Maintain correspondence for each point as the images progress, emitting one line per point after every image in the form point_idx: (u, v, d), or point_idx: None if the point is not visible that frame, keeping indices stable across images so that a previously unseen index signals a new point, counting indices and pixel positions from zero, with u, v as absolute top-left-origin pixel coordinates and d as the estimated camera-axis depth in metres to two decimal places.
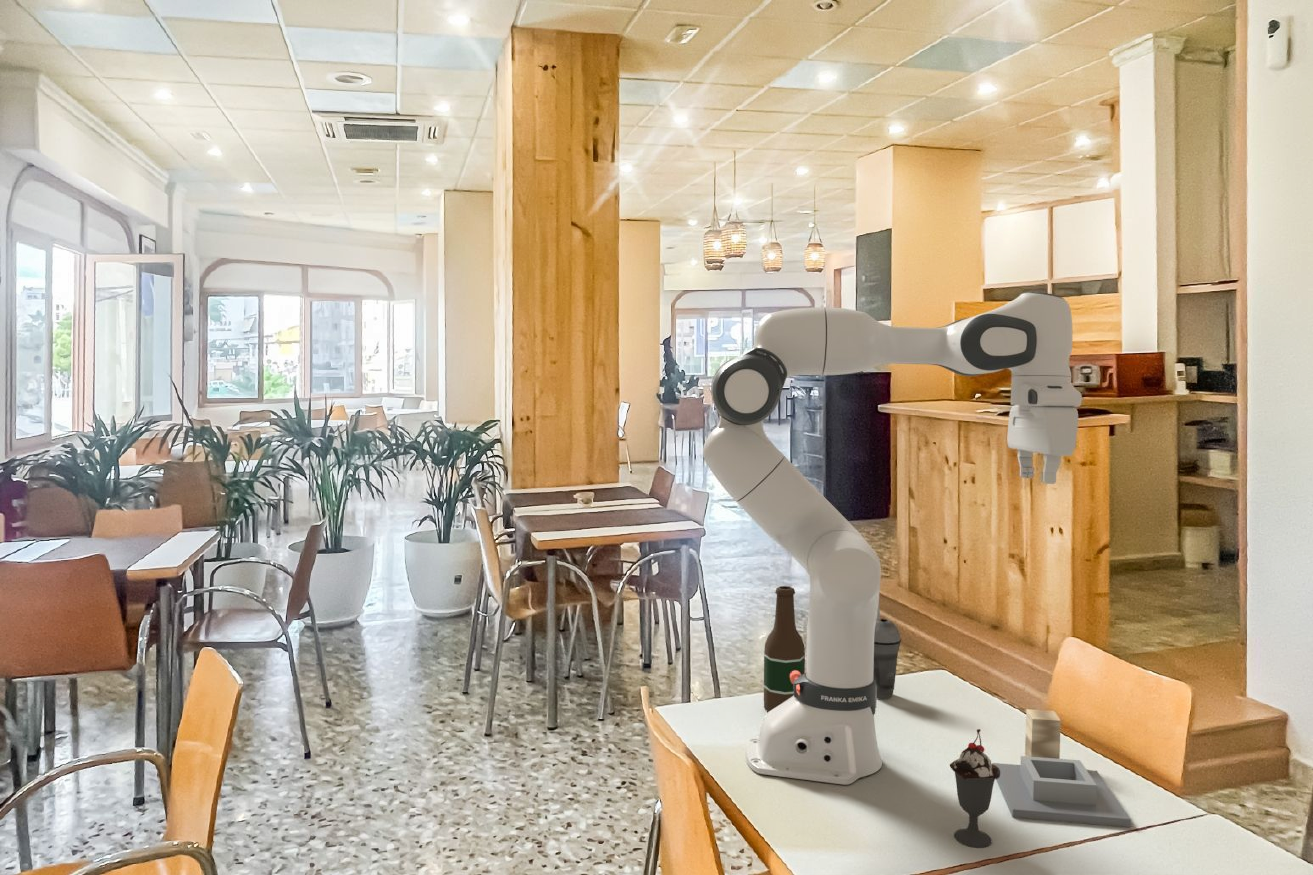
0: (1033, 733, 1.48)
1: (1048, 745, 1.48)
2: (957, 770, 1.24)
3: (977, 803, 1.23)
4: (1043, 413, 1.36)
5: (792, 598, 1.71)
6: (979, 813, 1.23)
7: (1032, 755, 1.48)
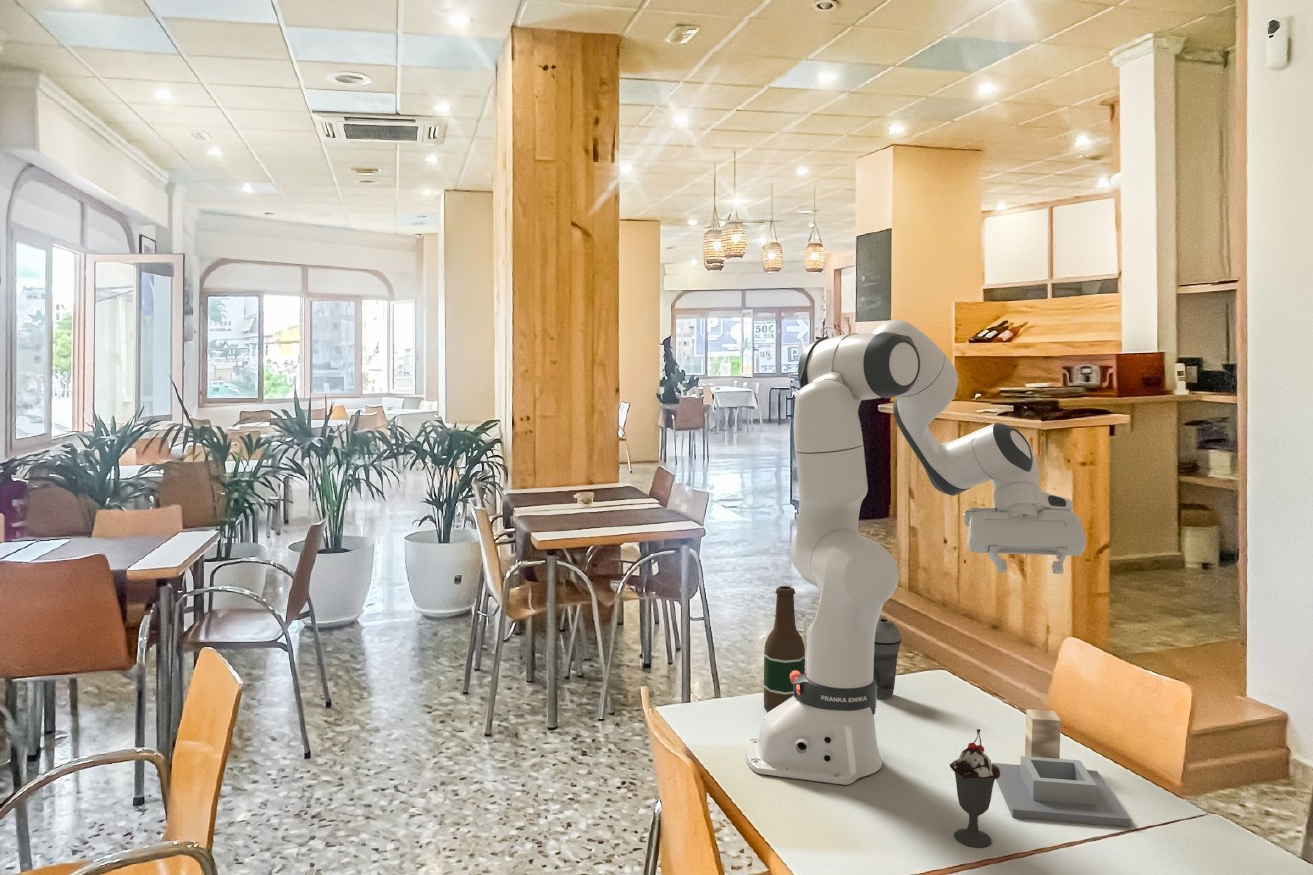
0: (1033, 733, 1.48)
1: (1048, 745, 1.48)
2: (957, 770, 1.24)
3: (977, 803, 1.23)
4: (1073, 514, 1.64)
5: (792, 598, 1.71)
6: (979, 813, 1.23)
7: (1032, 755, 1.48)
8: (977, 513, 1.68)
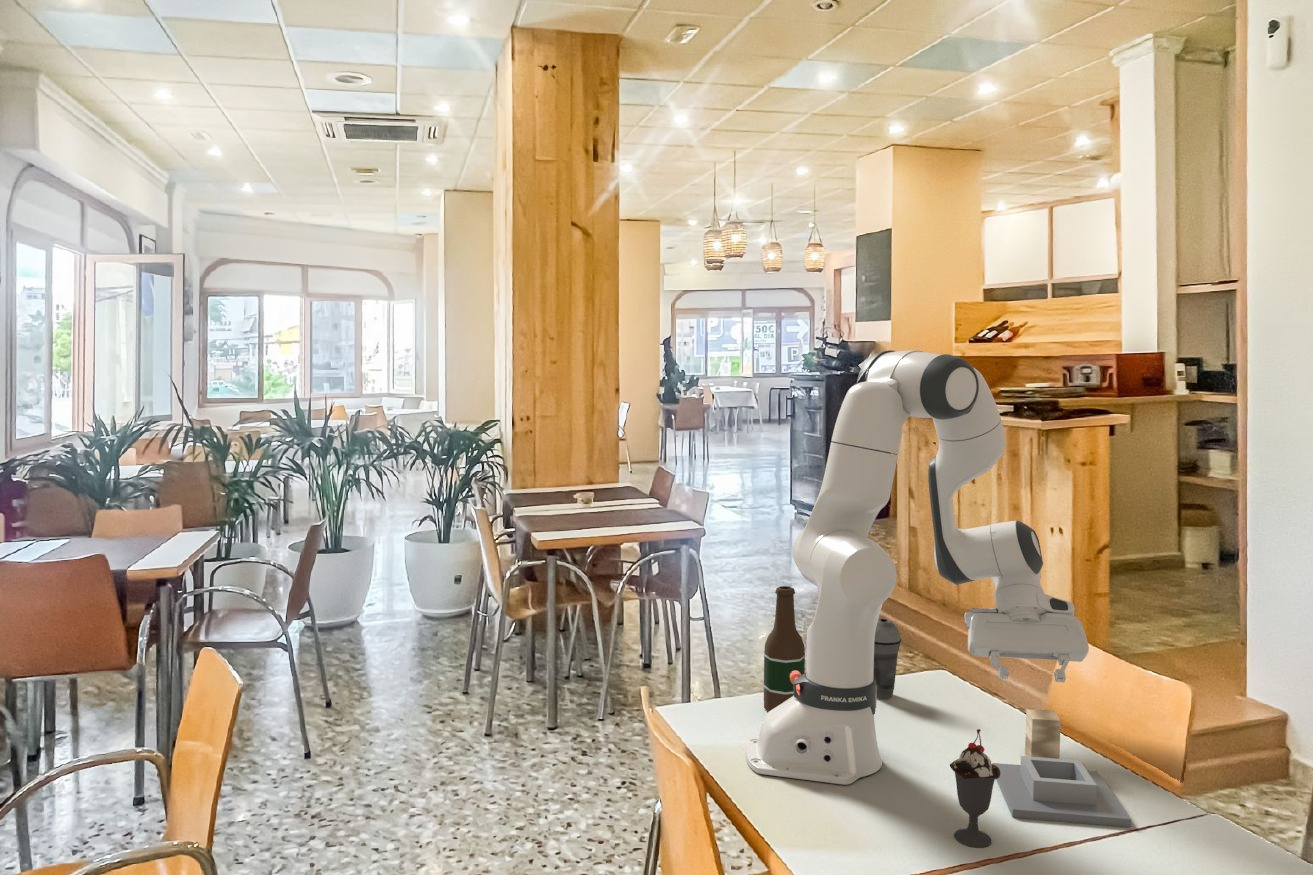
0: (1033, 733, 1.48)
1: (1048, 745, 1.48)
2: (957, 770, 1.24)
3: (977, 803, 1.23)
4: (1075, 619, 1.61)
5: (792, 598, 1.71)
6: (979, 813, 1.23)
7: (1032, 755, 1.48)
8: (978, 615, 1.65)
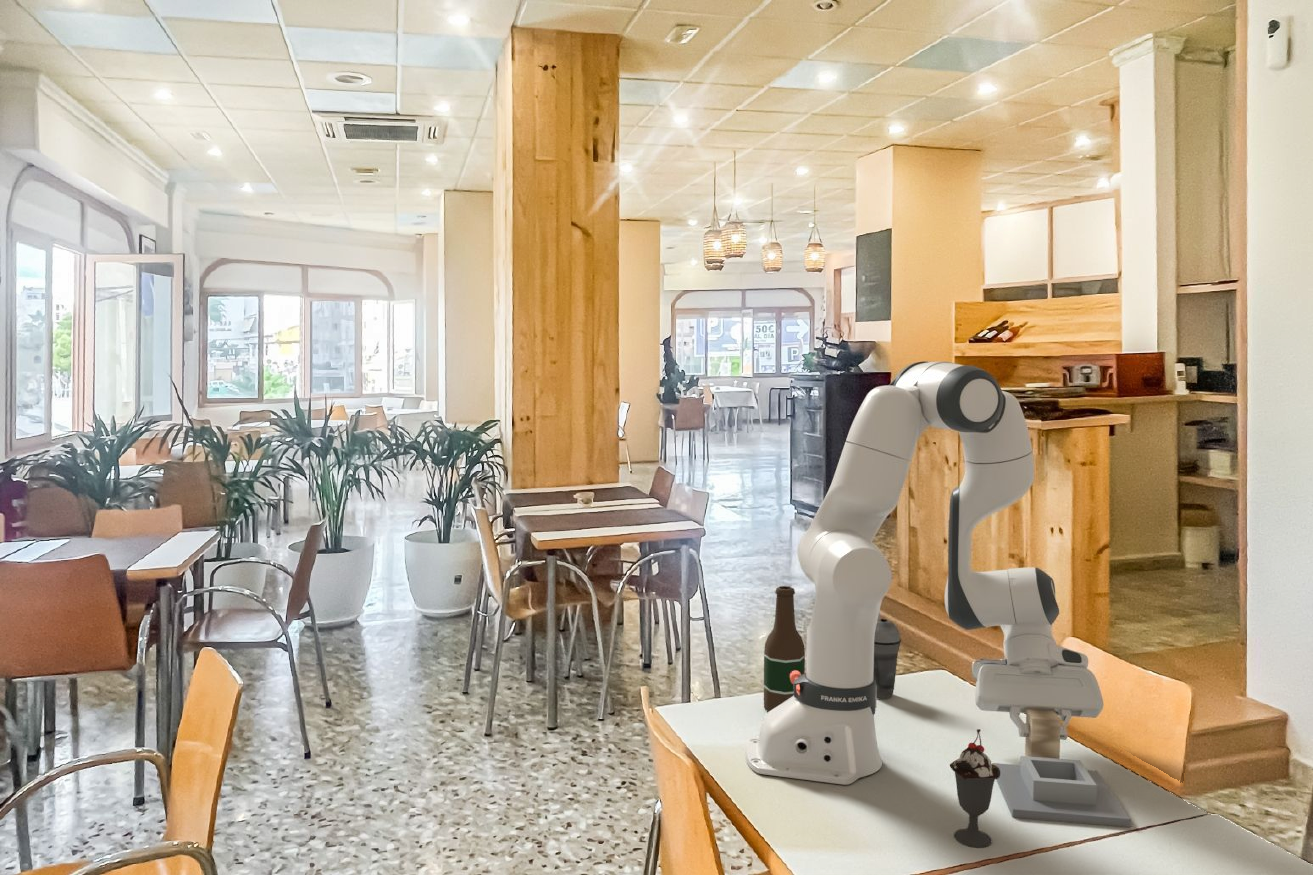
0: (1033, 733, 1.48)
1: (1048, 745, 1.48)
2: (957, 770, 1.24)
3: (977, 803, 1.23)
4: (1089, 672, 1.53)
5: (792, 598, 1.71)
6: (979, 813, 1.23)
7: (1032, 755, 1.48)
8: (986, 667, 1.57)
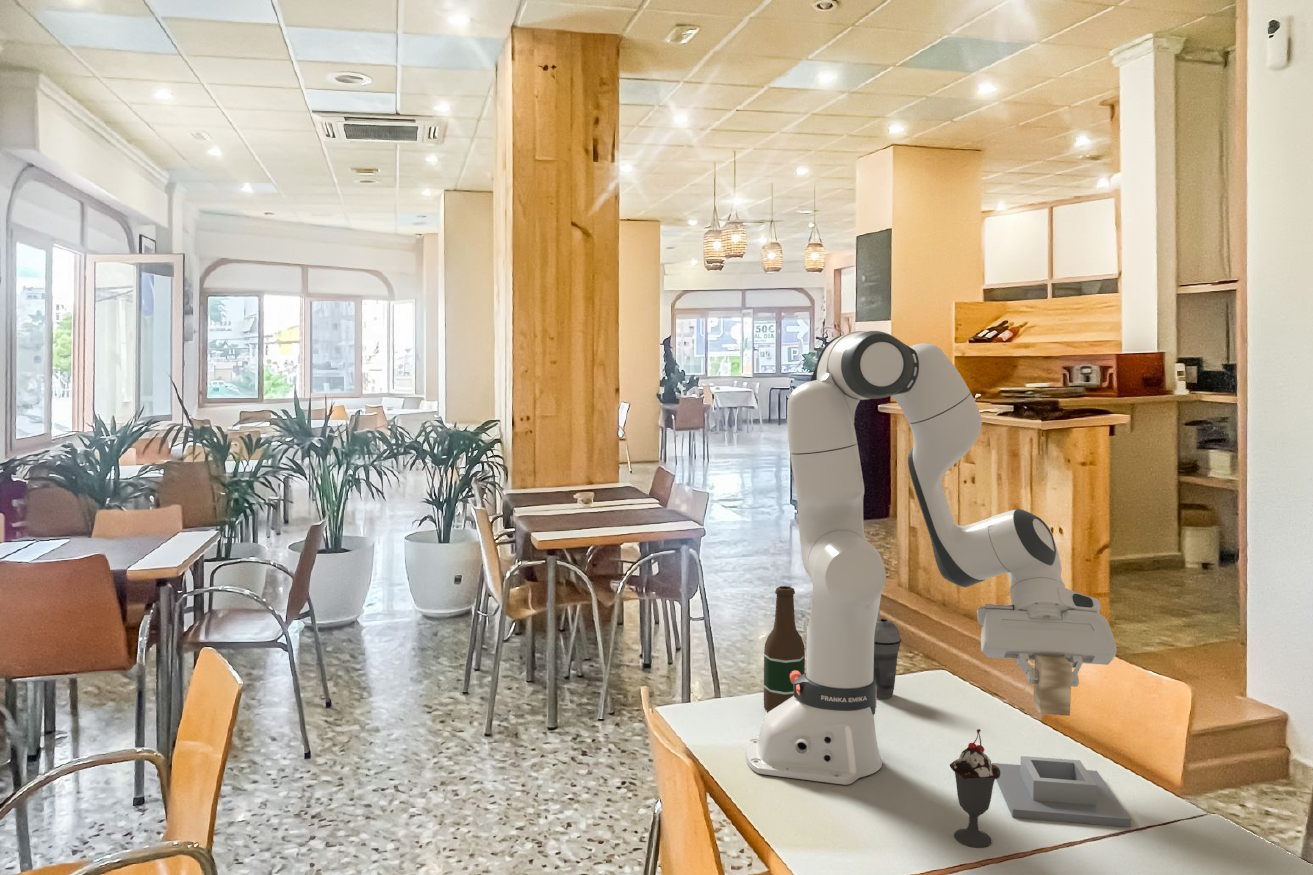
0: (1043, 679, 1.40)
1: (1059, 691, 1.40)
2: (957, 770, 1.24)
3: (977, 803, 1.23)
4: (1101, 617, 1.45)
5: (792, 598, 1.71)
6: (979, 813, 1.23)
7: (1041, 702, 1.40)
8: (992, 612, 1.49)
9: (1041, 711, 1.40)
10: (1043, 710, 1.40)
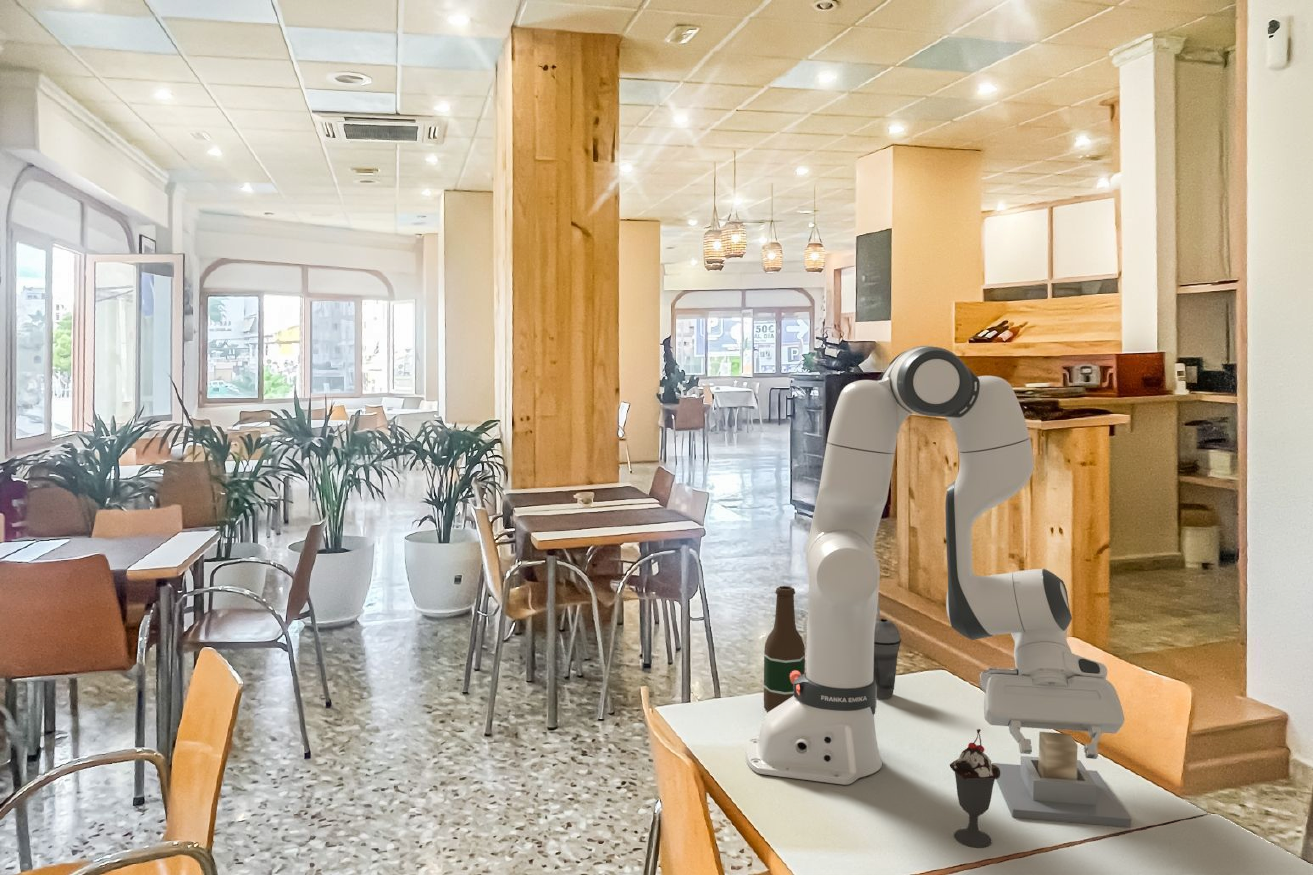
0: (1047, 759, 1.35)
1: (1064, 772, 1.35)
2: (957, 770, 1.24)
3: (977, 803, 1.23)
4: (1108, 684, 1.40)
5: (792, 598, 1.71)
6: (979, 813, 1.23)
7: None
8: (995, 677, 1.44)
9: None
10: None
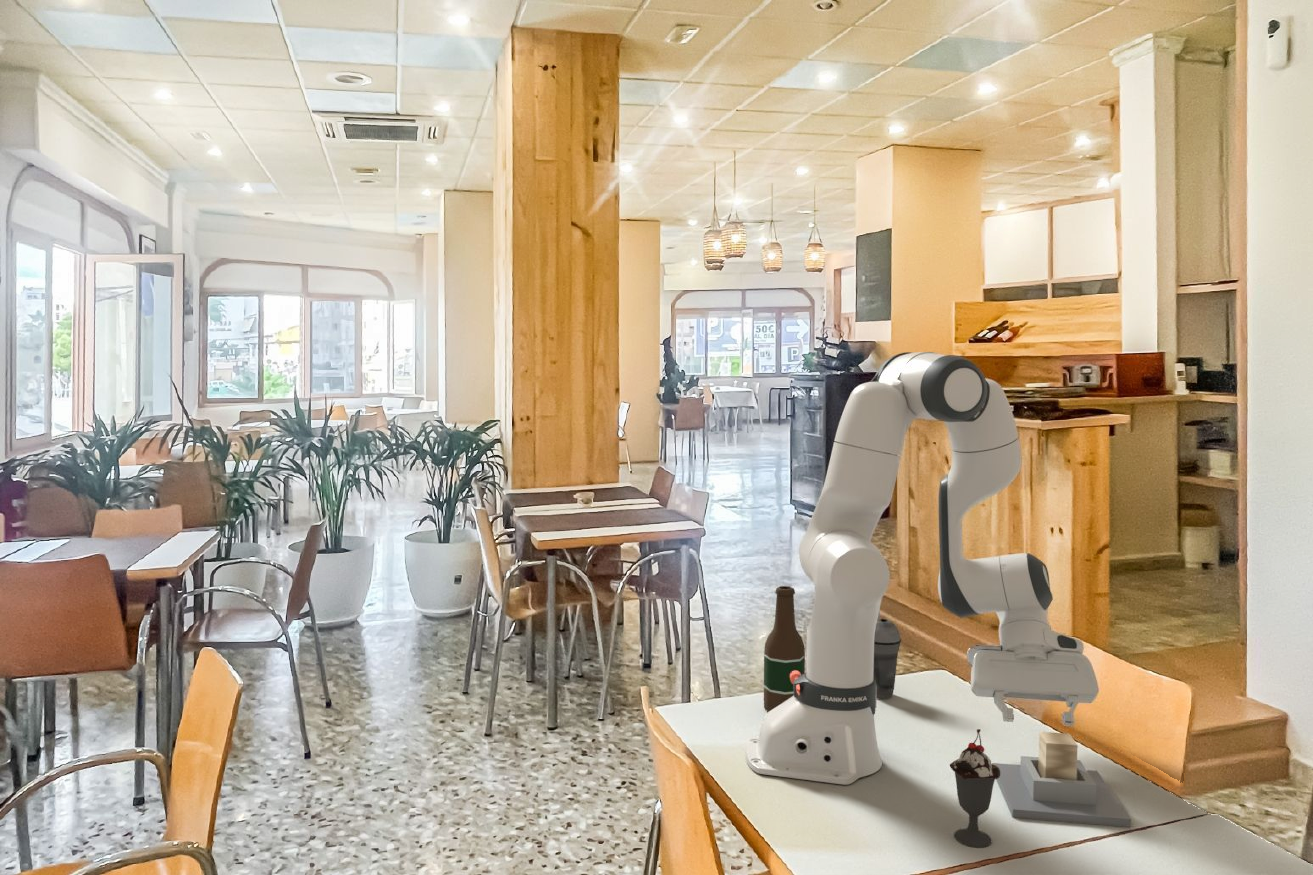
0: (1047, 759, 1.35)
1: (1064, 772, 1.35)
2: (957, 770, 1.24)
3: (977, 803, 1.23)
4: (1084, 658, 1.53)
5: (792, 598, 1.71)
6: (979, 813, 1.23)
7: None
8: (981, 652, 1.57)
9: None
10: None
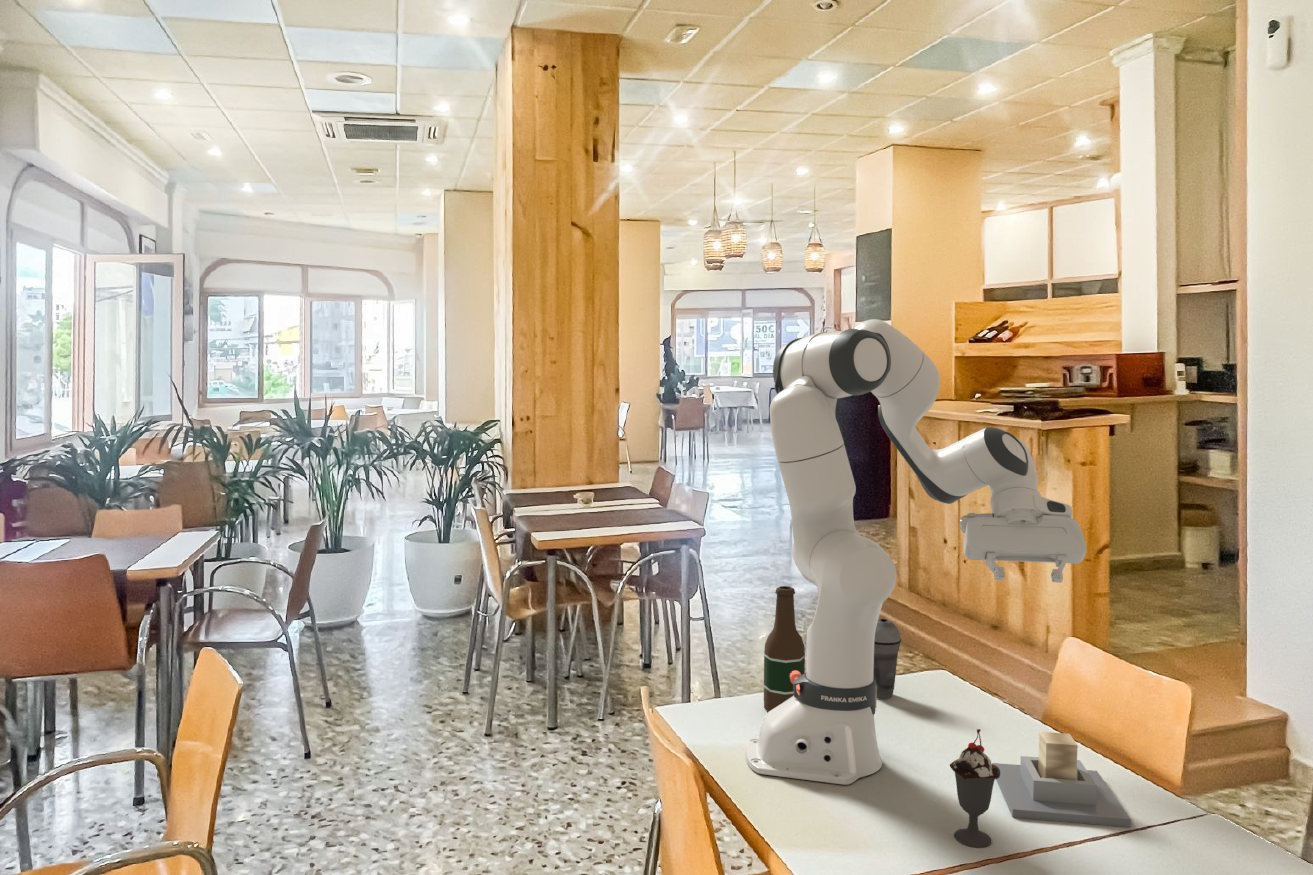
0: (1047, 759, 1.35)
1: (1064, 772, 1.35)
2: (957, 770, 1.24)
3: (977, 803, 1.23)
4: (1072, 521, 1.58)
5: (792, 598, 1.71)
6: (979, 813, 1.23)
7: None
8: (974, 519, 1.62)
9: None
10: None
